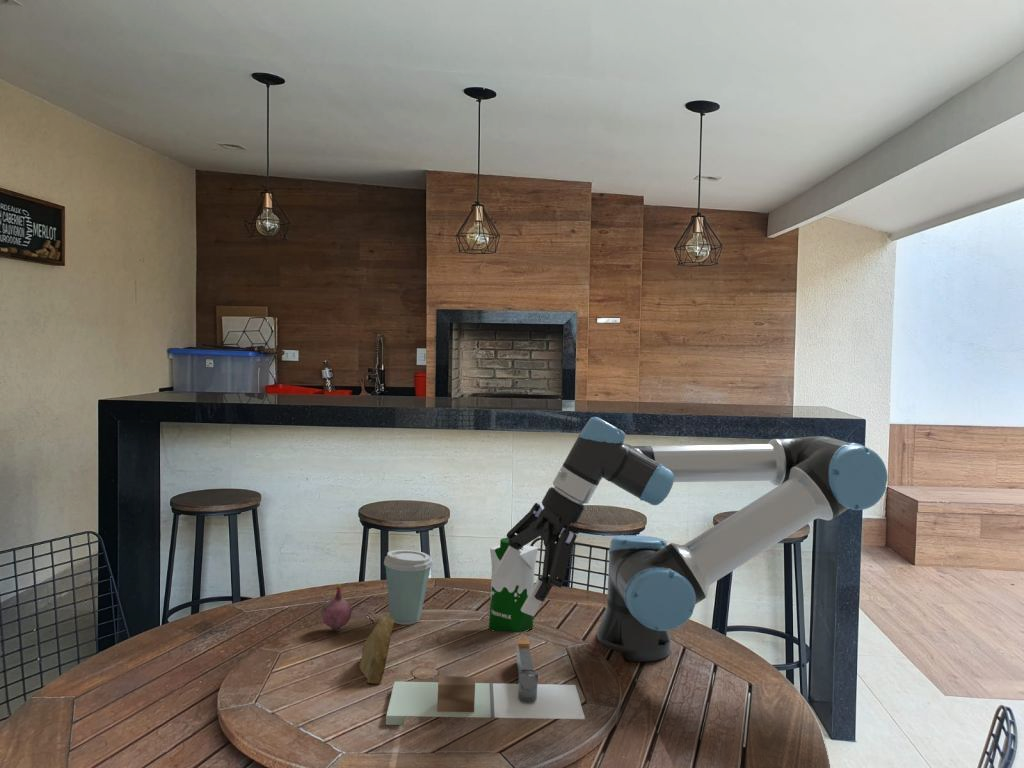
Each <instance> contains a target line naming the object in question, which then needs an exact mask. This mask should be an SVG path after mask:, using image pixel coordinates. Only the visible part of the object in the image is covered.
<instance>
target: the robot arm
mask: <svg viewBox="0 0 1024 768" xmlns="http://www.w3.org/2000/svg"><path fill="white" fill-rule="evenodd" d="M625 438H626V433H625V432H624V430H622V429H619V428H618V427H617V426H615V425H613V424H610V423H609V422H608V421H605V420H604V419H602V418H600V417H599V416H592V417H590V418H589V419H588V421H587V422H586V424H585V425H584V427H583V428H582V429H581V431H580V433H578V435H577V438H576V440H575V442H574V444H573V446H572V447H571V449H570V451H569V453H568V455H567V456H566V458H565V461H564V462H563V463H562V466H561V468H560V469H559V470H558V472H557V475H556V477H555V478H554V480H553V481H552V486H551V487H549V488H548V490H547V491H546V492H545V493H546V494H545V495H544V497H543V498H542V501H541V504H540V503H537V502H534V504H533V505H532V507H531V508H530V510H529V511H528V512H527V514H525V515H524V516H523V517H522V518H521V519H520V520H519V521H518V522H517V523H516V524H515V525H514V526H513V527H512V528H511V529H510V530H508V532H507V534H506V538H509V542H508V543H509V546H508V547H507V549H506V551H505V553H504V555H503V557H502V559H501V561H500V563H499V564H498V566H497V568H496V570H495V571H494V573H493V576H494V577H497V578H499V579H502V580H504V581H505V580H506V578H507V577H508V575H509V573H510V571H511V569H512V568H513V566H514V564H515V562H516V561H517V559H518V557H519V555H520V554H521V551H520V550H519V549H521V548H523V546H525V545H528V544H529V543H531V542H533V541H535V540H536V539H537V538H541V540H542V541H543V546H544V557H543V564H542V565H543V566H542V572H541V573H542V575H541V577H538V578H537V580H536V581H535V582H534V587H533V589H532V590H531V592H530V594H529V596H528V597H527V599H526V601H525V603H524V604H523V606H522V608H521V611H522V612H523V613H526V614H528V615H531V616H533V617H535V615H536V613H537V612H538V611H539V610H538V609H539V608H540V607H541V605H542V603H543V602H544V601H545V600H546V598H547V596H548V594H549V593H550V590H551V589H552V587H556V588H559V589H561V588H562V587H563V585H564V581H565V579H566V573H567V569H568V564H569V561H570V558H571V557H570V556H571V552H572V548H573V546H574V543H575V542H576V539H577V536H578V534H577V533H575V532H572V531H570V530H569V527H570V525H571V524H577V522H579V519H580V518H581V516H582V514H583V512H584V511H585V504H589V502H590V500H591V498H592V497H593V495H594V493H595V491H596V489H597V488H598V486H599V484H600V482H601V481H602V479H604V480H606V481H608V482H610V483H612V484H613V485H615V486H617V487H619V488H620V489H622V490H623V491H625V492H627V493H629V494H630V495H632V496H635V497H636V498H638V499H639V500H640V501H644V502H645V503H647V504H649V505H652V506H658V505H660V504H662V503H663V502H664V501H665V500H666V498H668V496H669V494H670V492H671V490H672V488H673V486H674V485H673V484H674V483H698V482H699V483H700V482H701V483H703V482H705V483H706V482H762V481H764V482H765V481H766V482H770V483H771V484H772V485H773V486H776V487H774V488H773V489H771V490H770V491H768V492H766V493H765V494H763V495H762V496H760V497H759V498H757V499H755V500H754V501H751V502H750V503H749V504H747V505H746V506H744V507H742V508H741V509H739V510H738V511H736V512H735V513H733V514H732V515H730V516H728V517H726V518H725V519H723V520H722V521H720V522H718V523H717V524H715V525H714V526H712V527H710V528H709V529H706V530H705V531H704V532H702V533H701V534H699V535H697V536H696V537H695V538H693V539H691V540H690V541H688V542H686V543H685V544H679V543H673V542H670V543H669V544H668V542H667V541H666V539H663V538H661V537H656V536H648V535H636V534H635V535H634V534H633V535H631V534H630V535H629V534H627V535H618V536H614V537H612V539H611V540H610V544H609V549H608V553H609V557H608V576H607V579H608V581H607V600H606V601H607V602H606V603H607V604H606V610H605V611H604V614H603V616H602V619H601V622H600V624H599V626H598V628H597V629H598V630H597V632H596V639H597V641H598V643H600V644H601V645H602V646H603V647H605V648H607V649H609V650H612V651H615V652H617V653H620V655H621V657H622V659H623V660H625V661H631V662H644V663H645V662H654V661H659V660H663V659H664V658H667V657H668V656H669V655H670V653H671V648H672V646H671V645H672V644H671V643H672V641H671V640H672V639H671V636H670V632H669V631H674V630H676V629H678V628H680V627H682V626H684V625H685V624H687V622H688V621H689V620H690V619H691V617H692V615H693V613H694V610H695V608H696V605H697V604H699V603H700V602H702V601H703V600H704V599H706V598H708V594H709V589H710V586H711V585H713V584H714V583H716V582H717V581H719V580H721V579H722V578H724V577H725V576H727V575H728V574H730V573H732V572H733V571H735V570H737V569H738V568H740V567H741V566H743V565H745V564H746V563H747V562H749V561H750V560H753V559H754V558H755V557H757V556H759V555H760V554H762V553H764V552H765V551H767V550H769V549H770V548H772V547H773V546H775V545H777V543H780V542H781V541H783V540H784V539H786V538H788V537H789V536H791V535H792V534H794V533H796V532H797V531H799V530H800V529H802V528H804V527H805V526H806V525H808V524H810V523H811V522H814V521H815V520H817V519H821V520H823V521H832V520H833V519H834V518H836V517H837V516H839V515H841V514H842V513H844V512H846V511H847V510H852V511H864V510H867V509H870V508H872V507H873V506H875V505H877V504H878V502H880V501H881V499H882V497H883V496H884V494H885V493H886V489H887V487H886V486H887V483H888V471H887V468H886V465H885V462H884V460H883V459H882V457H881V456H880V455H879V454H878V453H877V452H875V451H874V450H873V449H871V448H869V447H866V446H865V445H863V444H861V443H857V442H847V441H844V440H840V439H837V438H835V437H830V436H824V435H819V436H817V435H815V436H804V437H791V438H790V437H789V438H772V439H771V440H769V442H767V443H755V444H750V443H749V444H748V443H746V444H744V443H743V444H742V443H741V444H739V443H738V444H688V445H687V444H686V445H682V444H677V445H634V446H633V445H630V444H628V443H624V442H625ZM553 486H554V487H553ZM518 548H519V549H518ZM521 550H523V549H521Z"/></svg>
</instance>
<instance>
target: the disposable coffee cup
mask: <svg viewBox="0 0 1024 768" xmlns="http://www.w3.org/2000/svg"><path fill="white" fill-rule="evenodd" d="M386 553H387V554H386V556H384V561H383V566H385V575H386V576H385V577H386V578H385V579H386V587H387V597H388V598H387V599H388V609H389V610H388V611H389V616H390V617H391V618H392V619H393V620H394V622H393V624H397V625H398V624H399V625H402V626H403V625H414V624H417V622H419V621H420V618H421V616H422V612H423V606H424V601H425V596H426V591H427V588H428V582H429V577H430V573H431V572H430V571H431V568H432V566H433V563H432V557H431V556H430V555H429V554H427V553H425V552H422V551H418V550H412V549H409V550H408V549H397V550H395V549H394V550H391V551H388V552H386Z"/></svg>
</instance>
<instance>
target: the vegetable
mask: <svg viewBox="0 0 1024 768" xmlns="http://www.w3.org/2000/svg"><path fill="white" fill-rule="evenodd" d="M336 587H337V588H336V593H335V594H336V595H335V597H334V598H333V599H330V600H329V601H327V602H326V603H325V604H324V605H323V607H322V608H321V611H320V613H321V614H320V615H321V620H322V622H323V623H324V624H325V626H327V627H329V628H331V629H332V630H333V631H338V630H340V628H342V627H344V626H346V625H347V624H348V622H349V621H350V619H351V617H352V613H353V611H352V610H353V609H352V607H351V605H350V604H349V602H347V601H346V600H345V599H343V598H342V588H341V587H342V586H341V584H340V582H339V583H338V582H337V584H336Z"/></svg>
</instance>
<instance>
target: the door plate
mask: <svg viewBox="0 0 1024 768" xmlns="http://www.w3.org/2000/svg"><path fill="white" fill-rule="evenodd" d="M518 685H519V683H501V682H500V683H497V682H496V683H494V682H487V683H486V682H475V702H474V712H437V702H438V682H436V681H435V682H433V681H394V683H393V686H392V691H391V696H390V699H389V703H388V708H387V712H386V716H385V719H386V721H385V726H386V725H387V726H404V725H405V719H406V717H424V718H425V717H427V718H428V717H429V718H431V717H434V718H437V717H438V718H489V719H490V718H492V719H493V718H494V719H539V720H541V719H545V720H548V719H553V720H555V719H557V720H586V716H585V714H584V711H583V707H582V704H581V699H580V696H579V693H578V689H577V686H576V684H553V683H549V684H547V683H545V684H543V683H542V684H541V683H540V684H539V683H537V700H536V701H534V702H522V701H520V700H519V699H518Z"/></svg>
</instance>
